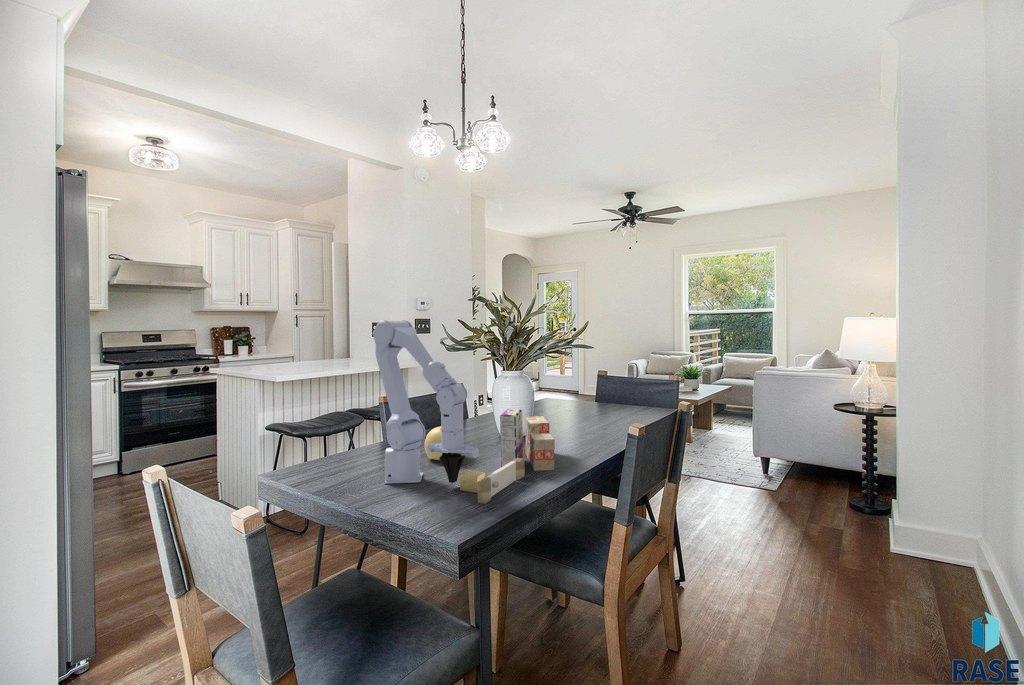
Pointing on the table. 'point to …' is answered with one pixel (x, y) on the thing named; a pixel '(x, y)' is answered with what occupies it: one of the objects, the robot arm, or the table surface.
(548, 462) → the stack of blocks
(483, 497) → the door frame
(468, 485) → the tan wooden block
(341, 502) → the table surface
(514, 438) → the candy bar box
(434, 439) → the yellow round lump
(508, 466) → the door
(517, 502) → the table surface
